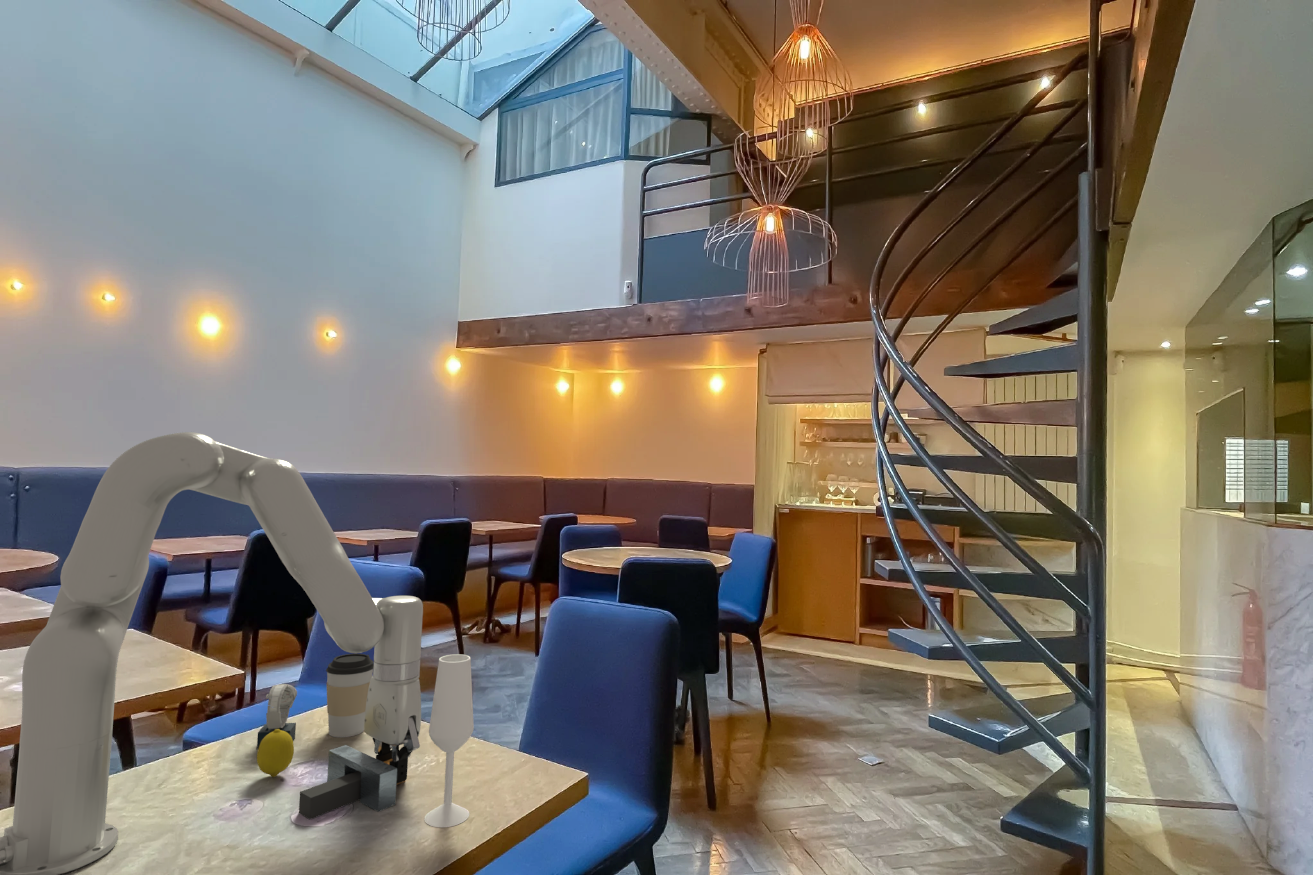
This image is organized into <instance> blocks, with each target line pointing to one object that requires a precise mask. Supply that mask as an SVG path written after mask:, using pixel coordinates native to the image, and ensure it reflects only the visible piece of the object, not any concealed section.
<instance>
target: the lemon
mask: <svg viewBox="0 0 1313 875" xmlns="http://www.w3.org/2000/svg"><path fill="white" fill-rule="evenodd" d="M294 753H295V746H294V741H293V740H292V737H291V736H290V735H289V734H288V733H287V732H285V731H282V730H280V729H275V730H274V731H273V732H271V733H269V734H268V735H266V736H265V737H264V738H263V740H262V741H261V743H260V746H259V749H258V750H257V753H256V763H257V766H258V768H259V770H260V771H261V772H262V773H264V774H266V775H269V776H270V777H272V778H276V777H277V776H278V775H279V774H280V773H283V771H285V770H286V769H287V768H288V767H289V766H290V764H291V762H292V761H293V758H294V755H295V754H294Z"/></svg>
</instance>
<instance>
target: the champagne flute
mask: <svg viewBox="0 0 1313 875" xmlns="http://www.w3.org/2000/svg"><path fill="white" fill-rule="evenodd" d="M471 661H472V660H471V656H469V655H467V654H457V653H456V654H447V655H443V656H441V657H439V659H438V665H437V672H436V679H435V685H434V693H433V699H432V707H431V713H430V721H429V727H428V735H429V737H430V739H431V741H432V742H433V744H434V745H435V746H436V747H437V748H439V749H440V750H441V751H442V752H444V753H445V769H444V770H445V774H444V791H443V792H444V794H443V803H442V804H440V805H439V806H437V807H435V808H433V809H431V810H430V811H428V812H427V813H426V814H425V816H424V822H425V823H426V824H427V825H428V826H431V827H434V828H449V827H454V826H458V825H461V824H462V823H464V822H465V821H466V820H467V819H468V818H470V811H469V810H468V809H467V808H466V807H463V806H462V805H458V804H457V803H454V802H453V785H454V784H453V782H454V762H455V752H457V751H458V750H459V749H460V748H461V747H463V746H464V745H465V744H466V743H467V742H468V741H469V739H470V738H471V736H472V734H473V732H474V729H475V728H474V725H475V724H474V707H473V704H474V702H473V684H472V683H473V681H472V662H471Z"/></svg>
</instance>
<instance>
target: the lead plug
mask: <svg viewBox="0 0 1313 875" xmlns="http://www.w3.org/2000/svg"><path fill="white" fill-rule="evenodd" d="M390 761H392V759H390V760H387V761H384V763H387V764H389V763H390ZM361 774H362V772H359V771H356V772H353V773H350V774H348V775H345V776H342V777H339V778H337V779H334V780H331V781H328V782H327V781H325V782H322V783H320V784H318V785H314V786H313V787H309V788H307V789H304V790H302V791H301V790H300V792H299V802H298V804H299V806H298V813H299V815H301V816H303V817H305V818H306V819H308V820H312V819H314V818H318V817H319V816H322V815H325V814H327V813H330V812H333V811H335V810H337V809H340V808H342V807H345V806H348V805H350V804H353V803H355V802H356V801H357V802H358V801H360V792H361ZM404 782H406V780H405V781H403V782H401V783H398V784H396V786H397V785H400V784H402V783H404Z"/></svg>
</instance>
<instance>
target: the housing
mask: <svg viewBox="0 0 1313 875" xmlns="http://www.w3.org/2000/svg"><path fill="white" fill-rule="evenodd" d="M327 762H328V763H327V779H326V780H327V781H326V782H328V781H331V780H334V779H337V778H339V777H342V776H345V775H348V774H350V773H353V772H356V771H359V772H362V774H361V792H360V800H359V803H360V804H362V805H365V806H366V807H368V808H370V809H372V810H374V811H376V812H377V813H378V812H381V811H383V810H386V809H389V808H390V807H393V806H395V805H396V801H397V800H396V797H397V785H396V781H397V768H395V767H393V766H391V765H389V764H387V763H384V762H382V761H380V760H378V759H376V757H373V756H371V755H369V754H366V753H364V752H362V751H360V750H358V749H356V748H354V747H351V746H349V745H348V744H344V745H342V746H339V747H335V748H332V749H329V750H328V761H327Z"/></svg>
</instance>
